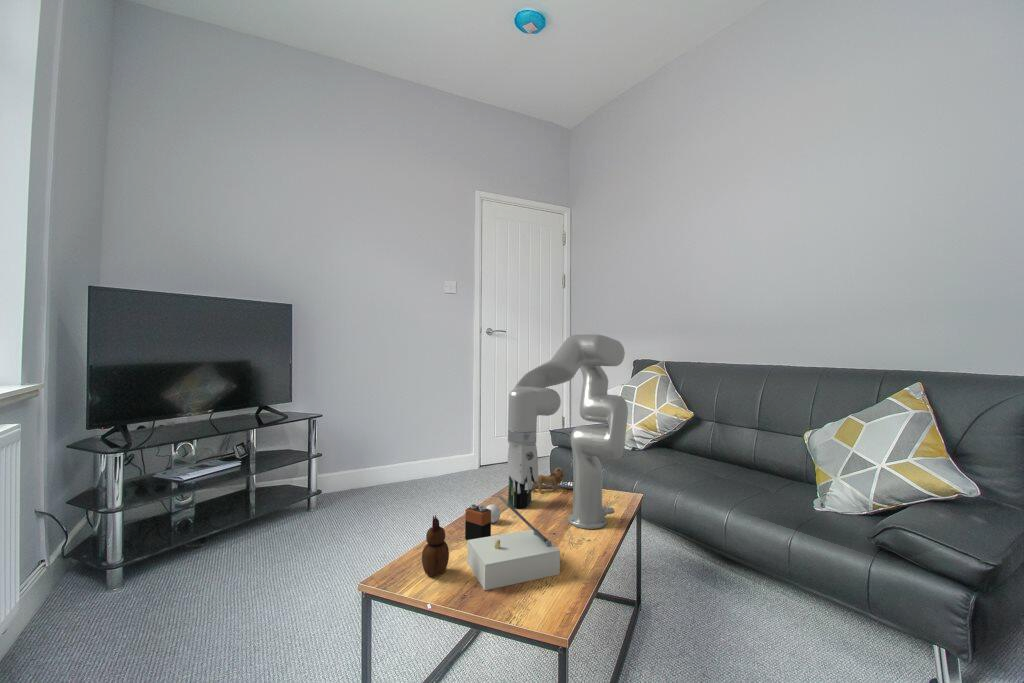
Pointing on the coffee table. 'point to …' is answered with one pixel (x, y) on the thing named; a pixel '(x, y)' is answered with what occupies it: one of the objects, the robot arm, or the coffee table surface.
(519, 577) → the keepsake box
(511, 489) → the coffee jar
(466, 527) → the battery
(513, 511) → the clasp strap
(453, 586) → the coffee table surface
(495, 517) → the seamed sphere
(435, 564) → the wooden figurine
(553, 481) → the lion figurine
